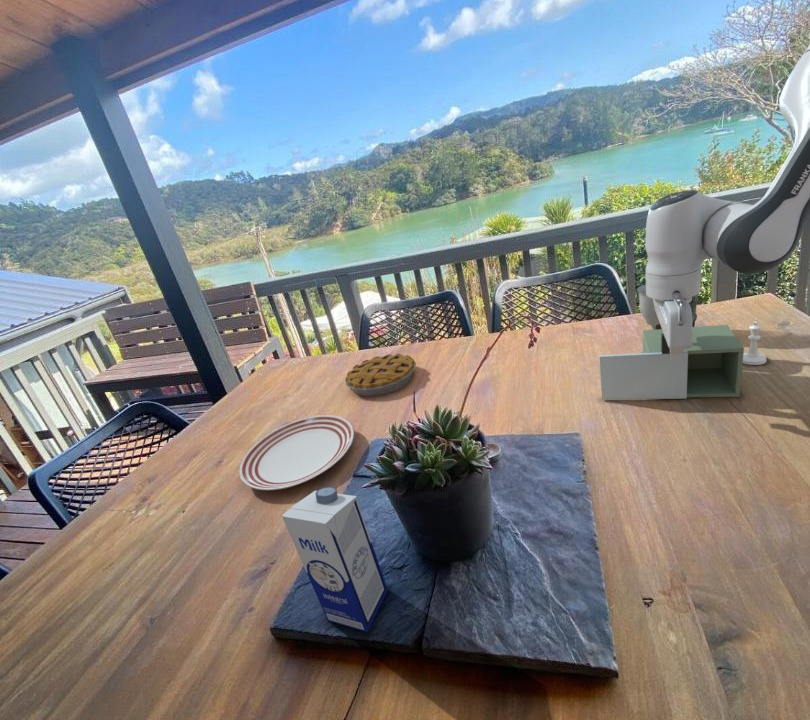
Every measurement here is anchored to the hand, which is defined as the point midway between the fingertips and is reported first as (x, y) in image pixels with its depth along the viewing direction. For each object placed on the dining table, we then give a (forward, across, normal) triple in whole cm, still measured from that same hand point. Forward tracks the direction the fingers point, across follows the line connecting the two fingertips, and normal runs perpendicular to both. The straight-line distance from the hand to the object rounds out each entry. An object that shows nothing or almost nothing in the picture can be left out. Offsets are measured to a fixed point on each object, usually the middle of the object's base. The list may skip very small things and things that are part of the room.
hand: (671, 350), depth 87 cm
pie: (+12, +13, +74) cm, 76 cm away
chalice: (+12, +21, +1) cm, 24 cm away
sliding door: (+11, 0, +5) cm, 12 cm away
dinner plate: (+12, -25, +79) cm, 84 cm away
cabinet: (+11, +7, -4) cm, 14 cm away
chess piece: (+12, +17, -18) cm, 27 cm away
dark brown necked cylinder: (+12, +34, -5) cm, 36 cm away
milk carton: (+12, -57, +47) cm, 75 cm away
